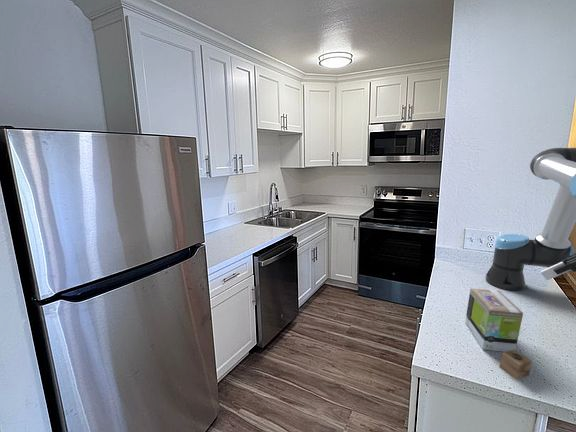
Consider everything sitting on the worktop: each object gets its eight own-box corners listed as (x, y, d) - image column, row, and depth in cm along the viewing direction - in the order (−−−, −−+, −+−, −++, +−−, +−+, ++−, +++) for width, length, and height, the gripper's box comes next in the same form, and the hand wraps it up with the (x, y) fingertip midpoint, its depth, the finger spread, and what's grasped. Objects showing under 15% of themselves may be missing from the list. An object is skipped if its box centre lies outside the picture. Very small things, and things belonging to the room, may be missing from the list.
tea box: (516, 353, 94) (524, 312, 90) (482, 350, 96) (488, 310, 92) (493, 325, 108) (500, 289, 105) (463, 322, 110) (469, 287, 107)
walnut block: (511, 363, 90) (514, 348, 89) (528, 375, 86) (532, 360, 84) (499, 367, 89) (502, 352, 88) (516, 379, 84) (519, 364, 83)
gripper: (660, 253, 68) (552, 295, 84) (651, 237, 77) (555, 278, 93) (631, 227, 70) (531, 273, 86) (625, 215, 79) (536, 258, 95)
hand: (544, 275), depth 89 cm, fingers closed
